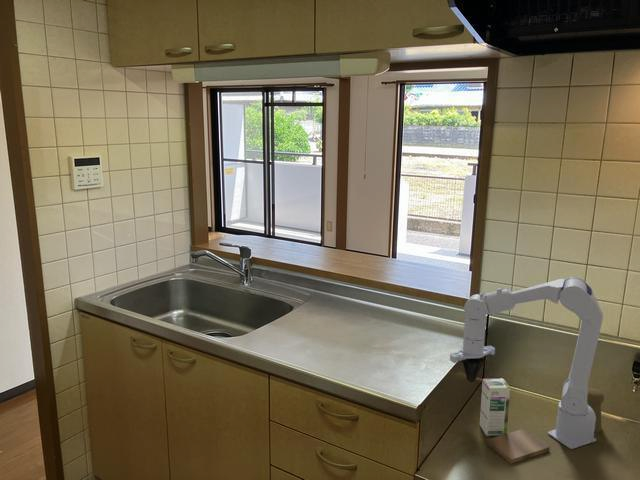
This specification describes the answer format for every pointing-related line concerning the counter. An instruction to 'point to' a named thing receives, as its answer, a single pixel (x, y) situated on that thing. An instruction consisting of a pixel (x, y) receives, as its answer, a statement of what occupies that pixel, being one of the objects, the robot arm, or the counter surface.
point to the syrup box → (494, 407)
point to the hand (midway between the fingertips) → (470, 380)
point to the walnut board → (517, 445)
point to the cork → (596, 405)
